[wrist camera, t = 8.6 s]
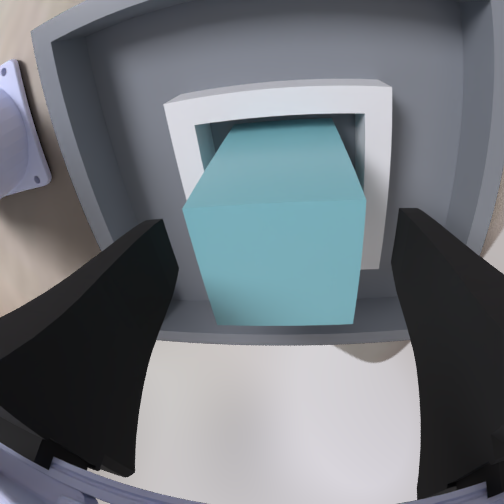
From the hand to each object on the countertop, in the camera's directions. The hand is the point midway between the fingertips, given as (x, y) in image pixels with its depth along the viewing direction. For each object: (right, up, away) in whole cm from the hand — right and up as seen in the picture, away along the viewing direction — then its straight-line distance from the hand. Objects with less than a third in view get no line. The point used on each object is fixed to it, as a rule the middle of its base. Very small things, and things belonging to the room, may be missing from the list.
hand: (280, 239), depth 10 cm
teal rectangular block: (+1, +3, +4) cm, 5 cm away
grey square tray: (+1, +3, +4) cm, 6 cm away
